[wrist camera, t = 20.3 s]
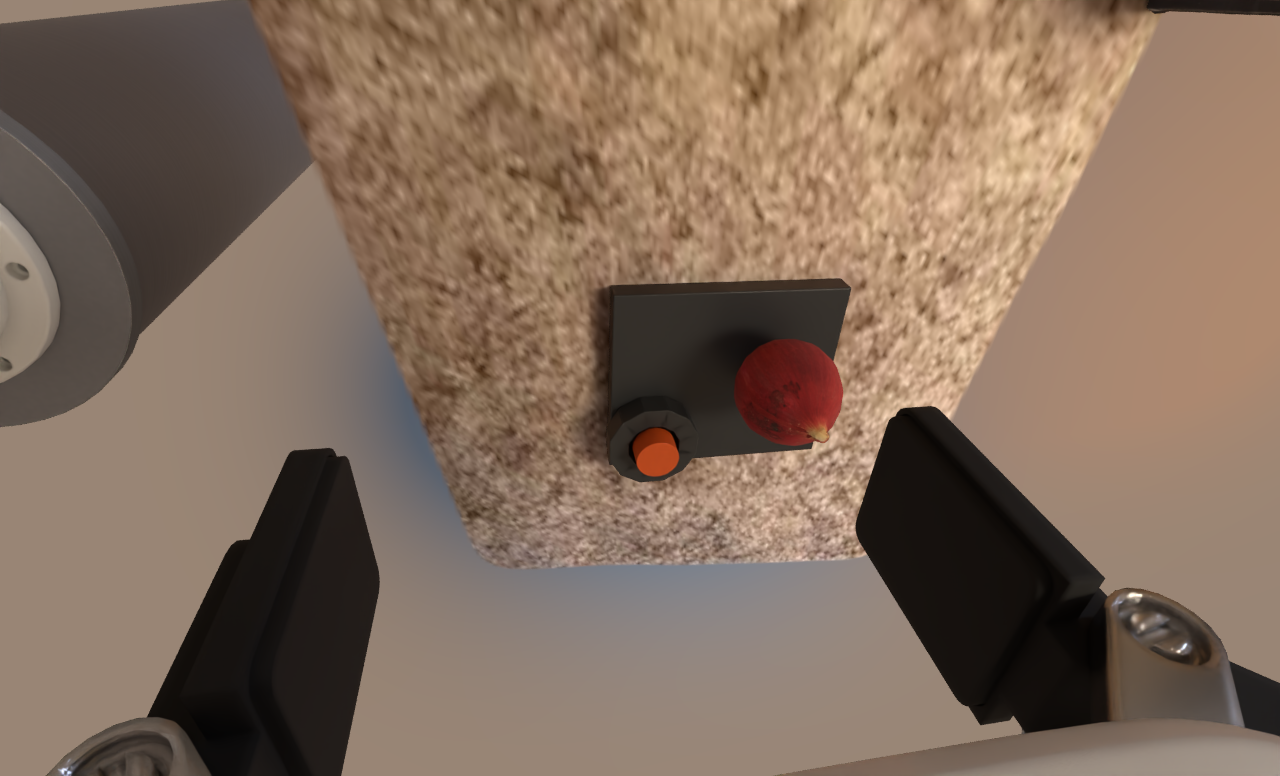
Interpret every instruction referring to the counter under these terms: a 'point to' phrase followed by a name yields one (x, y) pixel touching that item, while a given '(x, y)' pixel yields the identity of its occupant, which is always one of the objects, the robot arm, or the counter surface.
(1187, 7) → the small box
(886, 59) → the counter surface
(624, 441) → the scale
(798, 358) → the onion
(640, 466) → the power button
